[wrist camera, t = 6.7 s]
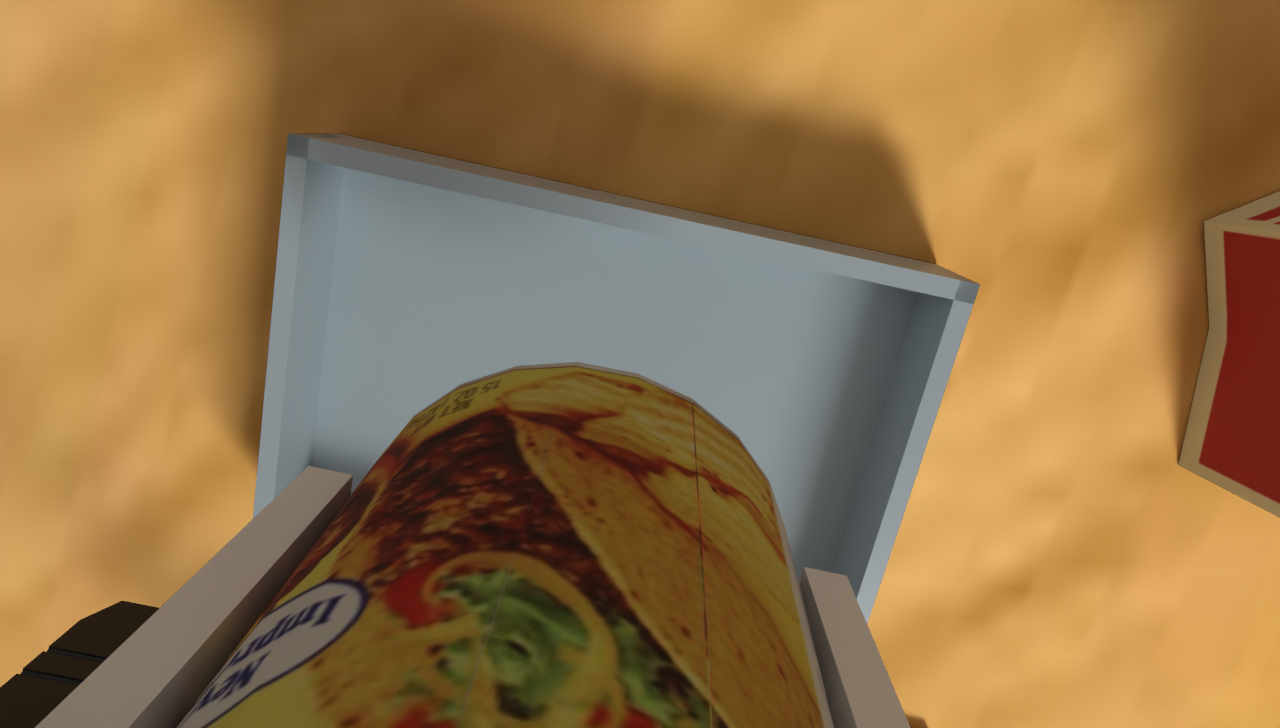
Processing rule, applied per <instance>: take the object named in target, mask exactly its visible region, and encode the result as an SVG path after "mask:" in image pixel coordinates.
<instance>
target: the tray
mask: <svg viewBox="0 0 1280 728" xmlns="http://www.w3.org/2000/svg"><path fill="white" fill-rule="evenodd" d="M979 286H980V284H978V283H976V282H974V281H971V280H969V279H967V278H965V277H963V276H961V275H959V274H956V273H954V272H952V271H950V270H948V269H946V268H944V267H942V266H939V265H937V264H932V263H927V262H923V261H918V260H914V259H909V258H905V257H900V256H895V255H891V254H886V253H882V252H877V251H873V250H868V249H863V248H859V247H854V246H850V245H845V244H841V243H836V242H831V241H827V240H822V239H818V238H813V237H809V236H804V235H799V234H795V233H790V232H786V231H781V230H777V229H772V228H767V227H763V226H758V225H754V224H749V223H745V222H740V221H735V220H731V219H726V218H722V217H717V216H713V215H708V214H703V213H699V212H694V211H690V210H685V209H681V208H676V207H671V206H667V205H662V204H658V203H653V202H649V201H644V200H639V199H635V198H630V197H626V196H621V195H617V194H612V193H608V192H603V191H598V190H594V189H589V188H585V187H580V186H576V185H571V184H566V183H562V182H557V181H553V180H548V179H544V178H539V177H534V176H530V175H525V174H521V173H516V172H512V171H507V170H502V169H498V168H493V167H489V166H484V165H480V164H475V163H470V162H466V161H461V160H457V159H452V158H448V157H443V156H438V155H434V154H429V153H425V152H420V151H416V150H411V149H406V148H402V147H397V146H393V145H388V144H384V143H379V142H374V141H370V140H365V139H361V138H356V137H352V136H347V135H342V134H338V133H304V134H288V141H287V152H286V163H285V174H284V185H283V196H282V207H281V218H280V229H279V240H278V251H277V261H276V272H275V283H274V294H273V305H272V316H271V327H270V338H269V349H268V360H267V371H266V382H265V393H264V404H263V415H262V426H261V437H260V448H259V459H258V469H257V480H256V491H255V502H254V513H253V518H255V517H256V516H257V515H258V514H259V513H260V512H261V511H262V510H263V509H264V508H265V507H266V506H267V505H268V504H269V503H270V502H271V501H272V500H273V499H274V498H275V497H276V496H278V495H279V494H280V493H281V492H282V491H283V490H284V489H285V488H286V487H287V486H288V485H289V484H290V483H291V482H292V481H293V480H294V479H295V478H296V477H297V476H298V475H300V474H301V473H302V472H303V471H304V470H305V469H306V468H307V467H308V466H312V467H317V468H322V469H327V470H331V471H336V472H341V473H346V474H351V475H353V480H352V488H351V494H352V493H353V492H354V490H355V489H356V488H357V486H358V485H359V484H360V482H361V481H362V480H363V478H364V477H365V476H366V474H367V473H368V472H369V470H370V469H371V468H372V466H373V465H374V464H375V462H376V461H377V460H378V459H379V457H380V456H381V455H382V453H383V452H384V451H385V450H386V449H387V447H388V446H389V445H390V444H391V443H392V441H393V440H394V439H395V438H396V437H397V435H398V434H399V433H400V432H401V431H402V429H403V428H404V427H405V426H406V425H407V423H408V422H409V421H410V420H411V418H412V417H413V416H414V415H415V414H417V413H418V412H420V411H421V410H423V409H424V408H426V407H427V406H429V405H430V404H432V403H433V402H435V401H436V400H438V399H439V398H441V397H442V396H444V395H445V394H447V393H448V392H450V391H451V390H453V389H454V388H456V387H457V386H459V385H460V384H463V383H466V382H469V381H472V380H475V379H478V378H481V377H484V376H487V375H490V374H493V373H497V372H500V371H503V370H506V369H509V368H512V367H515V366H523V365H539V364H556V363H572V362H579V363H584V364H590V365H595V366H600V367H606V368H611V369H616V370H622V371H627V372H632V373H638V374H640V375H642V376H644V377H646V378H649V379H651V380H653V381H655V382H657V383H660V384H662V385H664V386H666V387H668V388H670V389H673V390H675V391H677V392H679V393H681V394H683V395H686V396H688V397H690V398H692V399H694V400H695V401H696V402H697V403H698V404H700V405H701V406H702V407H703V408H705V409H706V410H707V411H708V412H709V413H711V414H712V415H713V416H714V417H715V418H717V419H718V420H719V421H720V422H722V423H723V424H724V425H725V426H726V427H728V428H729V429H730V430H731V431H733V432H734V433H735V434H736V435H737V436H738V437H739V438H740V440H741V441H742V443H743V444H744V446H745V447H746V448H747V450H748V451H749V453H750V454H751V456H752V457H753V458H754V460H755V461H756V463H757V464H758V465H759V467H760V468H761V470H762V471H763V473H764V474H765V475H766V477H767V478H768V480H769V481H770V484H771V487H772V490H773V493H774V496H775V499H776V502H777V505H778V508H779V511H780V514H781V517H782V520H783V523H784V526H785V529H786V533H787V537H788V541H789V545H790V549H791V553H792V557H793V562H794V566H795V570H796V574H797V578H798V582H800V579H801V575H802V572H803V569H804V567H807V568H812V569H817V570H822V571H826V572H831V573H836V574H841V575H846V576H847V578H848V580H849V582H850V585H851V587H852V590H853V592H854V594H855V597H856V599H857V602H858V604H859V606H860V609H861V611H862V613H863V616H864V618H865V621H866V623H868V620H869V617H870V614H871V611H872V608H873V605H874V602H875V599H876V596H877V593H878V590H879V587H880V584H881V581H882V578H883V575H884V572H885V569H886V566H887V563H888V560H889V557H890V554H891V551H892V548H893V545H894V542H895V539H896V536H897V533H898V530H899V527H900V524H901V521H902V518H903V515H904V512H905V509H906V506H907V503H908V500H909V497H910V494H911V491H912V488H913V485H914V482H915V479H916V476H917V473H918V470H919V467H920V464H921V461H922V458H923V455H924V452H925V449H926V446H927V443H928V440H929V437H930V434H931V431H932V427H933V424H934V421H935V418H936V415H937V412H938V409H939V406H940V403H941V400H942V397H943V394H944V391H945V388H946V385H947V382H948V379H949V376H950V373H951V370H952V367H953V364H954V361H955V358H956V355H957V352H958V349H959V346H960V343H961V340H962V337H963V334H964V331H965V328H966V325H967V322H968V319H969V316H970V313H971V310H972V307H973V304H974V301H975V298H976V295H977V292H978V289H979Z"/></svg>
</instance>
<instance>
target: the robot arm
mask: <svg viewBox="0 0 1280 728" xmlns="http://www.w3.org/2000/svg"><path fill="white" fill-rule="evenodd" d="M352 480H353V475H351V474H346V473H341V472H336V471H331V470H327V469H322V468H317V467H312V466H308V467H307V468H306V469H305V470H304V471H303V472H302V473H301V474H300V475H298V476H297V477H296V478H295V479H294V480H293V481H292V482H291V483H290V484H289V485H288V486H287V487H286V488H285V489H284V490H283V491H282V492H281V493H280V494H279V495H278V496H276V497H275V498H274V499H273V500H272V501H271V502H270V503H269V504H268V505H267V506H266V507H265V508H264V509H263V510H262V511H261V512H260V513H259V514H258V515H257V516H256V517H255V518H253V519H252V520H251V521H250V522H249V523H248V524H247V525H246V526H245V527H244V528H243V529H242V530H241V531H240V532H239V533H238V534H237V535H236V536H235V537H234V538H233V539H232V540H230V541H229V542H228V543H227V544H226V545H225V546H224V547H223V548H222V549H221V550H220V551H219V552H218V553H217V554H216V555H215V556H214V557H213V558H212V559H211V560H210V561H209V562H207V563H206V564H205V565H204V566H203V567H202V568H201V569H200V570H199V571H198V572H197V573H196V574H195V575H194V576H193V577H192V578H191V579H190V580H189V581H188V582H187V583H185V584H184V585H183V586H182V587H181V588H180V589H179V590H178V591H177V592H176V593H175V594H174V595H173V596H172V597H171V598H170V599H169V600H168V601H167V602H166V603H165V604H164V605H162V606H161V607H160V608H156V607H151V606H146V605H141V604H136V603H131V602H126V601H121V602H118V603H116V604H114V605H112V606H110V607H108V608H105V609H103V610H101V611H99V612H97V613H94V614H92V615H90V616H88V617H86V618H84V619H81V620H80V621H79V622H77V623H76V624H75V625H74V626H73V627H71V628H70V629H69V630H68V631H67V632H66V633H64V634H63V635H62V636H61V637H60V638H58V639H57V640H56V641H55V642H54V643H52V644H51V645H50V646H49V649H48V651H47V652H42V653H41V654H39V655H38V656H37V657H36V658H35V659H34V660H32V661H31V662H30V663H29V664H28V665H26V666H25V667H24V668H23V671H22V673H21V674H16V675H15V676H13V677H12V678H11V679H10V680H9V681H8V682H6V683H5V684H4V685H3V686H2V687H0V728H176V727H177V726H178V724H179V723H180V722H181V720H182V719H183V718H184V716H185V715H186V714H187V712H188V711H189V710H190V708H191V707H192V706H193V705H194V703H195V702H196V701H197V699H198V698H199V697H200V695H201V694H202V693H203V691H204V690H205V689H206V687H207V686H208V685H209V683H210V682H211V681H212V679H213V678H214V677H215V675H216V674H217V673H218V671H219V670H220V669H221V667H222V666H223V665H224V663H225V662H226V661H227V659H228V658H229V657H230V655H231V654H232V653H233V651H234V650H235V649H236V647H237V646H238V645H239V643H240V642H241V641H242V639H243V638H244V637H245V635H246V634H247V633H248V631H249V630H250V629H251V627H252V626H253V625H254V623H255V622H256V621H257V619H258V618H259V617H260V615H261V614H262V613H263V611H264V610H265V609H266V607H267V606H268V605H269V603H270V602H271V601H272V599H273V598H274V597H275V595H276V594H277V593H278V591H279V590H280V589H281V587H282V586H283V585H284V583H285V582H286V581H287V580H288V578H289V577H290V576H291V574H292V573H293V572H294V570H295V569H296V568H297V566H298V565H299V564H300V562H301V561H302V560H303V558H304V557H305V556H306V554H307V553H308V552H309V550H310V549H311V548H312V546H313V545H314V544H315V542H316V541H317V540H318V538H319V537H320V536H321V534H322V533H323V532H324V530H325V529H326V528H327V526H328V525H329V524H330V522H331V521H332V520H333V518H334V517H335V516H336V514H337V513H338V512H339V510H340V509H341V508H342V506H343V505H344V504H345V502H346V501H347V500H348V498H349V497H350V496H351V488H352ZM799 586H800V590H801V594H802V598H803V603H804V607H805V611H806V615H807V619H808V623H809V627H810V631H811V635H812V639H813V644H814V648H815V652H816V656H817V660H818V664H819V668H820V672H821V676H822V680H823V685H824V689H825V693H826V697H827V701H828V705H829V709H830V713H831V717H832V721H833V726H834V728H911V727H910V725H909V723H908V720H907V718H906V716H905V713H904V711H903V708H902V706H901V704H900V701H899V699H898V697H897V694H896V692H895V689H894V687H893V685H892V682H891V680H890V678H889V675H888V673H887V670H886V668H885V666H884V663H883V661H882V659H881V656H880V654H879V651H878V649H877V647H876V644H875V642H874V640H873V637H872V635H871V632H870V630H869V628H868V625H867V623H866V621H865V618H864V616H863V613H862V611H861V609H860V606H859V604H858V602H857V599H856V597H855V594H854V592H853V590H852V587H851V585H850V582H849V580H848V578H847V576H846V575H841V574H836V573H831V572H826V571H822V570H817V569H812V568H807V567H804V569H803V572H802V575H801V579H800V582H799Z"/></svg>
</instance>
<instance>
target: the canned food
mask: <svg viewBox="0 0 1280 728" xmlns="http://www.w3.org/2000/svg"><path fill="white" fill-rule="evenodd" d="M176 728H834V726H833V721H832V717H831V713H830V709H829V705H828V701H827V697H826V693H825V689H824V685H823V680H822V676H821V672H820V668H819V664H818V660H817V656H816V652H815V648H814V644H813V639H812V635H811V631H810V627H809V623H808V619H807V615H806V611H805V607H804V603H803V598H802V594H801V590H800V586H799V582H798V578H797V574H796V570H795V566H794V562H793V557H792V553H791V549H790V545H789V541H788V537H787V533H786V529H785V526H784V523H783V520H782V517H781V514H780V511H779V508H778V505H777V502H776V499H775V496H774V493H773V490H772V487H771V484H770V481H769V480H768V478H767V477H766V475H765V474H764V473H763V471H762V470H761V468H760V467H759V465H758V464H757V463H756V461H755V460H754V458H753V457H752V456H751V454H750V453H749V451H748V450H747V448H746V447H745V446H744V444H743V443H742V441H741V440H740V438H739V437H738V436H737V435H736V434H735V433H734V432H733V431H731V430H730V429H729V428H728V427H726V426H725V425H724V424H723V423H722V422H720V421H719V420H718V419H717V418H715V417H714V416H713V415H712V414H711V413H709V412H708V411H707V410H706V409H705V408H703V407H702V406H701V405H700V404H698V403H697V402H696V401H695V400H694V399H692V398H690V397H688V396H686V395H683V394H681V393H679V392H677V391H675V390H673V389H670V388H668V387H666V386H664V385H662V384H660V383H657V382H655V381H653V380H651V379H649V378H646V377H644V376H642V375H640V374H638V373H632V372H627V371H622V370H616V369H611V368H606V367H600V366H595V365H590V364H584V363H579V362H572V363H556V364H539V365H523V366H515V367H512V368H509V369H506V370H503V371H500V372H497V373H493V374H490V375H487V376H484V377H481V378H478V379H475V380H472V381H469V382H466V383H463V384H460V385H459V386H457V387H456V388H454V389H453V390H451V391H450V392H448V393H447V394H445V395H444V396H442V397H441V398H439V399H438V400H436V401H435V402H433V403H432V404H430V405H429V406H427V407H426V408H424V409H423V410H421V411H420V412H418V413H417V414H415V415H414V416H413V417H412V418H411V420H410V421H409V422H408V423H407V425H406V426H405V427H404V428H403V429H402V431H401V432H400V433H399V434H398V435H397V437H396V438H395V439H394V440H393V441H392V443H391V444H390V445H389V446H388V447H387V449H386V450H385V451H384V452H383V453H382V455H381V456H380V457H379V459H378V460H377V461H376V462H375V464H374V465H373V466H372V468H371V469H370V470H369V472H368V473H367V474H366V476H365V477H364V478H363V480H362V481H361V482H360V484H359V485H358V486H357V488H356V489H355V490H354V492H353V493H352V494H351V496H350V497H349V498H348V500H347V501H346V502H345V504H344V505H343V506H342V508H341V509H340V510H339V512H338V513H337V514H336V516H335V517H334V518H333V520H332V521H331V522H330V524H329V525H328V526H327V528H326V529H325V530H324V532H323V533H322V534H321V536H320V537H319V538H318V540H317V541H316V542H315V544H314V545H313V546H312V548H311V549H310V550H309V552H308V553H307V554H306V556H305V557H304V558H303V560H302V561H301V562H300V564H299V565H298V566H297V568H296V569H295V570H294V572H293V573H292V574H291V576H290V577H289V578H288V580H287V581H286V582H285V583H284V585H283V586H282V587H281V589H280V590H279V591H278V593H277V594H276V595H275V597H274V598H273V599H272V601H271V602H270V603H269V605H268V606H267V607H266V609H265V610H264V611H263V613H262V614H261V615H260V617H259V618H258V619H257V621H256V622H255V623H254V625H253V626H252V627H251V629H250V630H249V631H248V633H247V634H246V635H245V637H244V638H243V639H242V641H241V642H240V643H239V645H238V646H237V647H236V649H235V650H234V651H233V653H232V654H231V655H230V657H229V658H228V659H227V661H226V662H225V663H224V665H223V666H222V667H221V669H220V670H219V671H218V673H217V674H216V675H215V677H214V678H213V679H212V681H211V682H210V683H209V685H208V686H207V687H206V689H205V690H204V691H203V693H202V694H201V695H200V697H199V698H198V699H197V701H196V702H195V703H194V705H193V706H192V707H191V708H190V710H189V711H188V712H187V714H186V715H185V716H184V718H183V719H182V720H181V722H180V723H179V724H178V726H177V727H176Z"/></svg>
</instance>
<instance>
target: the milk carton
mask: <svg viewBox="0 0 1280 728" xmlns="http://www.w3.org/2000/svg"><path fill="white" fill-rule="evenodd" d="M1204 233H1205V253H1206V273H1207V292H1208V312H1209V331H1208V335H1207V339H1206V344H1205V348H1204V353H1203V357H1202V362H1201V366H1200V371H1199V375H1198V380H1197V384H1196V388H1195V393H1194V397H1193V402H1192V406H1191V411H1190V415H1189V420H1188V424H1187V428H1186V433H1185V437H1184V442H1183V446H1182V451H1181V455H1180V460H1179V464H1178V465H1179V466H1181V467H1183V468H1185V469H1187V470H1189V471H1191V472H1192V473H1194V474H1196V475H1198V476H1200V477H1202V478H1204V479H1206V480H1208V481H1210V482H1212V483H1214V484H1216V485H1218V486H1220V487H1221V488H1223V489H1225V490H1227V491H1229V492H1231V493H1233V494H1235V495H1237V496H1239V497H1241V498H1243V499H1245V500H1247V501H1248V502H1250V503H1252V504H1254V505H1256V506H1258V507H1260V508H1262V509H1264V510H1266V511H1268V512H1270V513H1272V514H1274V515H1276V516H1277V517H1279V518H1280V191H1278V192H1276V193H1273V194H1271V195H1268V196H1266V197H1263V198H1261V199H1258V200H1256V201H1253V202H1251V203H1249V204H1246V205H1244V206H1241V207H1239V208H1236V209H1234V210H1231V211H1229V212H1226V213H1224V214H1221V215H1219V216H1216V217H1214V218H1211V219H1209V220H1206V221H1204Z"/></svg>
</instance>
